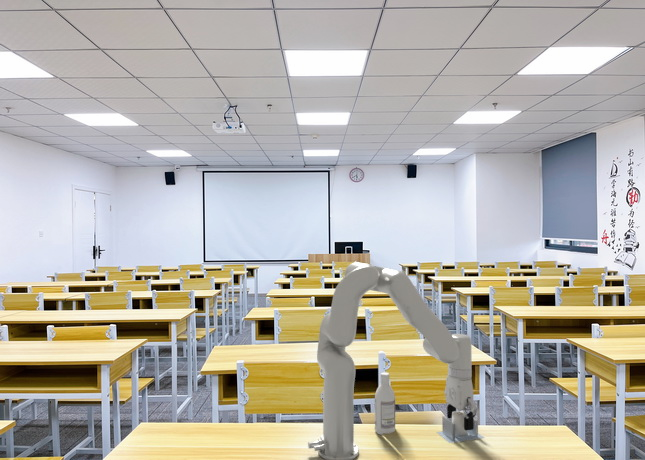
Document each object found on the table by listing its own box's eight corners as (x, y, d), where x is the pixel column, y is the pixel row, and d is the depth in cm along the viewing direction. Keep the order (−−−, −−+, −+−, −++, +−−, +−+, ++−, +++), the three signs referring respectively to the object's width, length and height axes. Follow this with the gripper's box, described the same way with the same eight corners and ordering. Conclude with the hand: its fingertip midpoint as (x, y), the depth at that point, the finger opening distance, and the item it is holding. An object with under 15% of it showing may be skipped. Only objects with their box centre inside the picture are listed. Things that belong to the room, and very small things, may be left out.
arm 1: (452, 440, 143) (452, 423, 143) (442, 432, 149) (442, 416, 149) (457, 440, 144) (457, 423, 144) (447, 432, 149) (447, 415, 149)
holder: (449, 446, 142) (449, 439, 142) (436, 435, 149) (436, 429, 149) (484, 440, 145) (484, 434, 145) (469, 430, 153) (469, 424, 153)
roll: (457, 439, 144) (457, 417, 144) (449, 432, 149) (449, 411, 149) (470, 437, 146) (470, 415, 146) (462, 430, 150) (461, 409, 151)
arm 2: (473, 437, 145) (473, 420, 145) (462, 429, 151) (462, 413, 151) (478, 436, 146) (477, 420, 146) (467, 429, 152) (467, 413, 152)
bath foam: (399, 432, 152) (399, 373, 152) (385, 438, 147) (385, 378, 147) (384, 425, 157) (384, 369, 157) (370, 431, 153) (370, 373, 153)
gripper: (436, 365, 155) (436, 414, 155) (465, 381, 138) (465, 436, 138) (454, 363, 157) (454, 412, 157) (485, 379, 140) (486, 433, 140)
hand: (460, 423), depth 147 cm, fingers open, 9 cm apart
